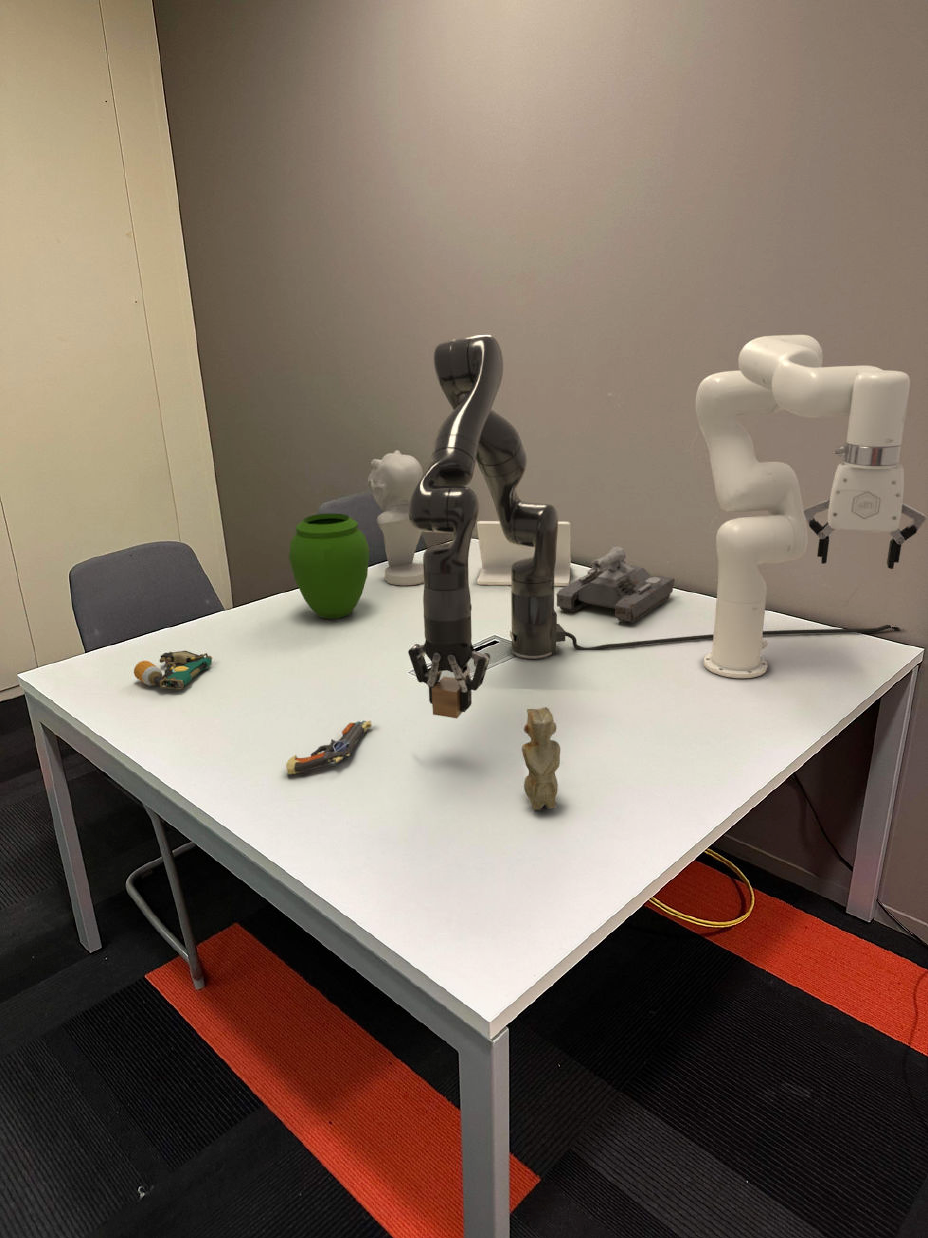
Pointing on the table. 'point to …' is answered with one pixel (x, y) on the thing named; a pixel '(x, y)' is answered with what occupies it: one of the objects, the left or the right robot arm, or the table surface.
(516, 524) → the left robot arm
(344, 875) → the table surface
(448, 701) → the brown wooden block
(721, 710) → the table surface
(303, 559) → the vase
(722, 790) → the table surface
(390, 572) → the bust sculpture
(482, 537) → the tablet stand
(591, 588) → the toy
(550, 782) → the sculpture
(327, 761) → the toy gun
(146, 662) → the spray gun
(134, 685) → the table surface
